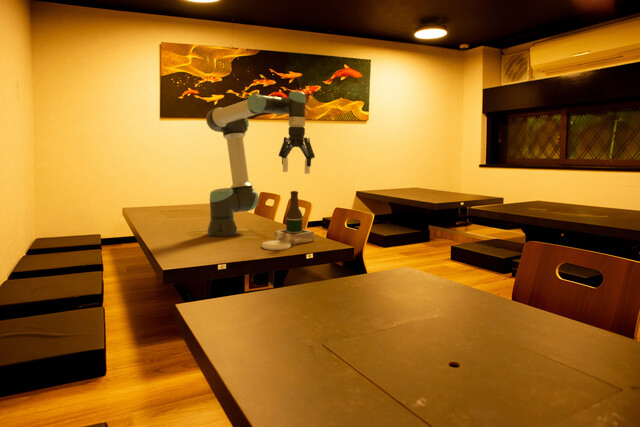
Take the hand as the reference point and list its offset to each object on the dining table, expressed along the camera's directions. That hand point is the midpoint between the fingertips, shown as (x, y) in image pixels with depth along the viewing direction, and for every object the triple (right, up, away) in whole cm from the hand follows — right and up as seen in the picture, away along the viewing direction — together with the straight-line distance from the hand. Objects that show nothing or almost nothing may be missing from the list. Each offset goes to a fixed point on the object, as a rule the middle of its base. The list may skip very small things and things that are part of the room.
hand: (295, 172), depth 206 cm
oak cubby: (-1, -32, +7) cm, 33 cm away
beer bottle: (-1, -32, +7) cm, 33 cm away
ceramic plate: (-8, -34, -7) cm, 36 cm away
